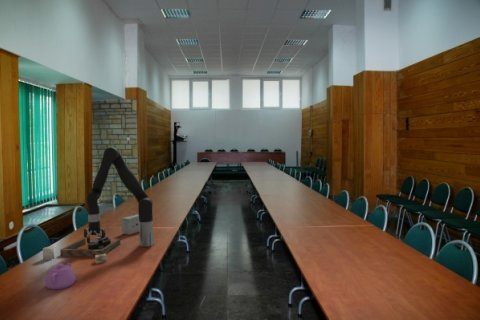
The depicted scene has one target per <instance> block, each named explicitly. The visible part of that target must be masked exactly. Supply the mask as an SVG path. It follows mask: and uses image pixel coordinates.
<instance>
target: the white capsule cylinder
mask: <svg viewBox="0 0 480 320" xmlns="http://www.w3.org/2000/svg"><path fill="white" fill-rule="evenodd" d="M52 259H53V260H54V259H55V247H54V246H46V247H43V248H42V260H43V261H46V262H49V261H53V260H52Z"/></svg>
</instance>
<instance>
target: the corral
mask: <svg viewBox="0 0 480 320" xmlns="http://www.w3.org/2000/svg"><path fill="white" fill-rule="evenodd" d="M86 243H87V242H86V238H84V237H82V238H80V239H78V240H76V241H75V242H73V243H71V244H69V245H67V246H64V247H63V248H61V249H60V257H83V258H84V257H85V258H86V256H87V257H88V258H89V257H91V258H95V255H100V254H106V255H108V254H109V253H111V252H112V251H113V250H114V249H116V248H118V247H119V246H121V245H122V244H121V238H117V239H115V240H114V241H111V244H109V245H107V246H106V247H104V248H103V249H101V250H93V249H88V248H87V249H85V248H84V249H83V248H81V247H82V246H84V245H86ZM80 246H81V247H80ZM78 247H79V248H78Z"/></svg>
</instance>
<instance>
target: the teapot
mask: <svg viewBox="0 0 480 320" xmlns="http://www.w3.org/2000/svg"><path fill="white" fill-rule="evenodd" d="M71 266H72V263H71V262H67V263H66V264H63V263H58V264H57V265H56V266H54V267H51V269H49V271H48V273H47V275H46V278H45V282H44V285H45V287H46V288H48V289H49V290H56V291H57V290H62V289H66V288H69V287H71V286H72V285H73V284H74V283H75V282H76V279H77V278H76V277H77V276H76V274H75V273H76V272H74V270H73V269H72V267H71Z"/></svg>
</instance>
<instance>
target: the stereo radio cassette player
mask: <svg viewBox="0 0 480 320" xmlns="http://www.w3.org/2000/svg"><path fill="white" fill-rule="evenodd" d="M131 212H133V213H134V214H131V215H130V216H125V217H122V218H121V233H122V234H124V235H129V236H130V235H132V234H133V235H134V234H136V233H139V212H136V211H132V210H131Z"/></svg>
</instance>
